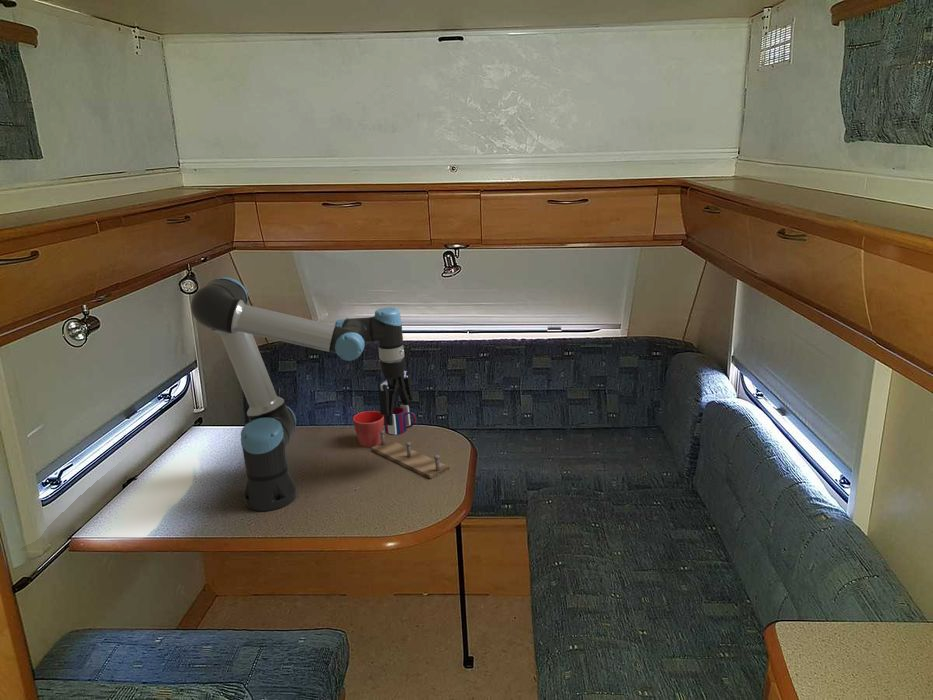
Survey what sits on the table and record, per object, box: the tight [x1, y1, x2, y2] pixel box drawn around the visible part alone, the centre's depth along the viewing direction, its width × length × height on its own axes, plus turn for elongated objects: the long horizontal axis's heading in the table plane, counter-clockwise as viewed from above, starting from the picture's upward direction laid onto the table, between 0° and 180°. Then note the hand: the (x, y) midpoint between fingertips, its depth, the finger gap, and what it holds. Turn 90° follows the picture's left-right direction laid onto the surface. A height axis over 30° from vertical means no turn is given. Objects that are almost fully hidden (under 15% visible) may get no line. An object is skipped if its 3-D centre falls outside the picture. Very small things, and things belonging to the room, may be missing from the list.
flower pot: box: [352, 410, 385, 448], centre depth 234 cm, size 11×11×10 cm
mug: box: [383, 406, 417, 436], centre depth 211 cm, size 7×10×7 cm
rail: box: [371, 429, 450, 480], centre depth 220 cm, size 30×8×6 cm, turn 44°
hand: (399, 428), depth 211 cm, fingers closed on mug, 7 cm apart
